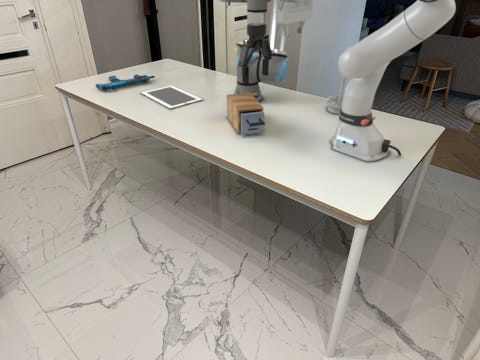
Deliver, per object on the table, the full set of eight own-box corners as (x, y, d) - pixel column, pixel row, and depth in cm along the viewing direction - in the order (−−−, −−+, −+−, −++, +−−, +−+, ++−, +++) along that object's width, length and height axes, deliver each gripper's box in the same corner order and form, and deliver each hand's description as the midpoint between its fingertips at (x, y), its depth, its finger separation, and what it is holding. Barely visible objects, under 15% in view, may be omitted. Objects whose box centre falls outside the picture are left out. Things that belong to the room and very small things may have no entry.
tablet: (140, 93, 192) (140, 92, 192) (171, 85, 203) (171, 85, 203) (170, 109, 171) (170, 108, 171) (202, 99, 183) (202, 99, 182)
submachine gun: (140, 69, 224) (158, 75, 207) (141, 74, 225) (159, 81, 209) (88, 79, 205) (103, 86, 188) (89, 85, 207) (105, 93, 190)
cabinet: (262, 131, 150) (263, 107, 144) (238, 134, 147) (238, 110, 141) (249, 114, 166) (249, 92, 160) (227, 117, 163) (226, 94, 157)
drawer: (268, 137, 142) (269, 117, 137) (245, 140, 140) (245, 120, 135) (250, 116, 161) (251, 97, 156) (230, 118, 159) (230, 99, 154)
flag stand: (341, 103, 177) (352, 43, 161) (357, 112, 167) (370, 48, 150) (320, 107, 173) (328, 45, 157) (335, 116, 163) (345, 51, 146)
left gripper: (267, 18, 140) (265, 70, 152) (228, 27, 124) (229, 84, 136) (282, 20, 136) (279, 73, 148) (244, 29, 120) (244, 88, 132)
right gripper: (287, -3, 119) (284, 39, 126) (317, -7, 132) (313, 31, 139) (272, -4, 122) (271, 37, 130) (303, -8, 135) (300, 30, 143)
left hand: (255, 79), depth 142 cm, fingers open, 13 cm apart
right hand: (293, 34), depth 135 cm, fingers open, 8 cm apart
